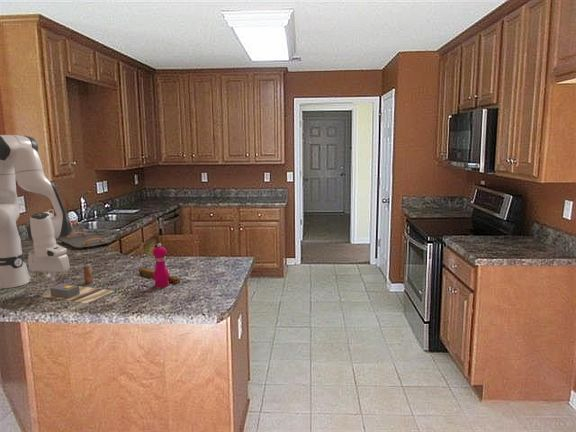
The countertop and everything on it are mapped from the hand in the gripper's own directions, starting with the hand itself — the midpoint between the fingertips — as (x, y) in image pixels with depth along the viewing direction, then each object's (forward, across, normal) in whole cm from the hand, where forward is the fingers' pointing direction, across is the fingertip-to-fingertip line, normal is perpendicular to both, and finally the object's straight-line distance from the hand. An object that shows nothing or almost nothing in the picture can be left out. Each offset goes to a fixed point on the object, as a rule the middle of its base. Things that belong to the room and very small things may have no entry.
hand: (51, 280), depth 194 cm
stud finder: (+6, +8, -1) cm, 10 cm away
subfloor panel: (+7, +12, +1) cm, 14 cm away
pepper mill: (+9, +39, +24) cm, 47 cm away
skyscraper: (+6, -61, +56) cm, 83 cm away
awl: (+7, +6, +15) cm, 17 cm away
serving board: (+7, -63, +85) cm, 107 cm away
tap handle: (+9, +31, +34) cm, 46 cm away
